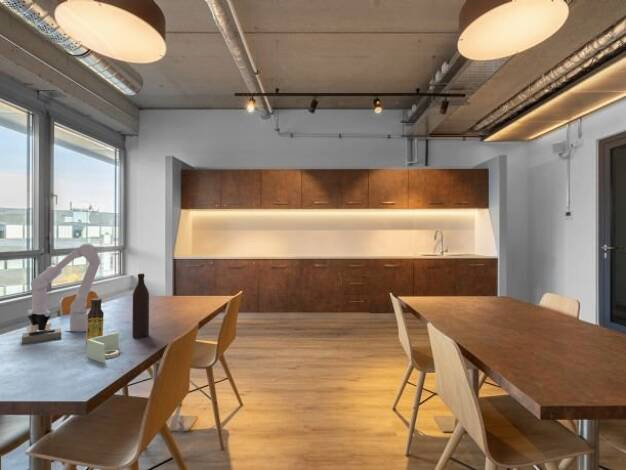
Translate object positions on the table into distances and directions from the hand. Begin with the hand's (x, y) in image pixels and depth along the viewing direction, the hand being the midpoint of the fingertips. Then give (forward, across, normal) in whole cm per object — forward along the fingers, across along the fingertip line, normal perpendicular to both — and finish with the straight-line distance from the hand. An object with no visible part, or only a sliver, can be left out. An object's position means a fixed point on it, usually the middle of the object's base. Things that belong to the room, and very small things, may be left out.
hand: (39, 329), depth 166 cm
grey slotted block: (+2, +11, -5) cm, 12 cm away
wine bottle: (+2, +49, +16) cm, 51 cm away
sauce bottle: (+2, +39, 0) cm, 39 cm away
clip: (+2, 0, 0) cm, 2 cm away
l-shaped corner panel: (+3, +59, -8) cm, 60 cm away
